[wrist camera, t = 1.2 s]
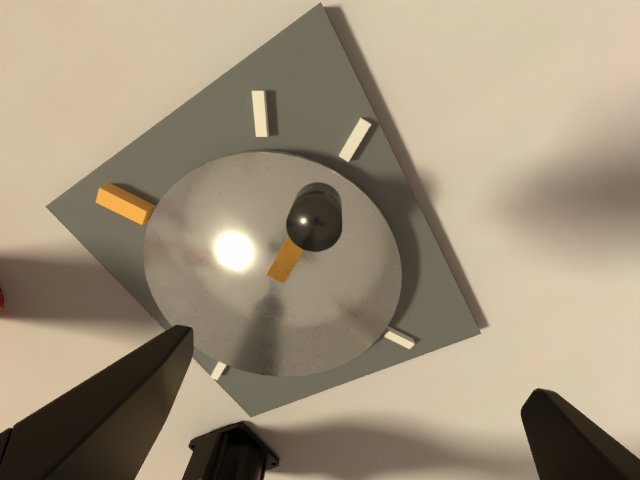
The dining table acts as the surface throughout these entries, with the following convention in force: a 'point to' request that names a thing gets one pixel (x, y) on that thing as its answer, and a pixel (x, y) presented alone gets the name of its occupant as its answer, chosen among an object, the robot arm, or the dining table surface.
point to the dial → (273, 263)
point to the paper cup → (1, 299)
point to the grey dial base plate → (289, 136)
